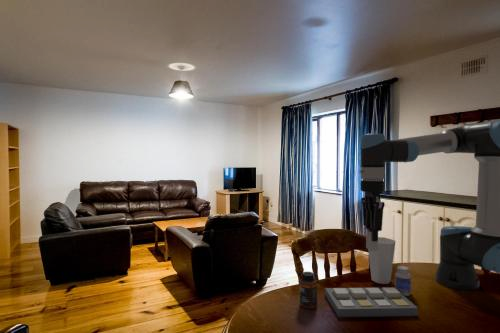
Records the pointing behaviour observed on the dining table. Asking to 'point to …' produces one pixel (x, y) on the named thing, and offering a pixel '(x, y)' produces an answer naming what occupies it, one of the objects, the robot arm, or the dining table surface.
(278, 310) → the dining table surface
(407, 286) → the pill bottle
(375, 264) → the cup
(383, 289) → the button
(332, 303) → the board
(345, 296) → the button
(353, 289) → the button
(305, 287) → the supplement bottle
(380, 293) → the button
